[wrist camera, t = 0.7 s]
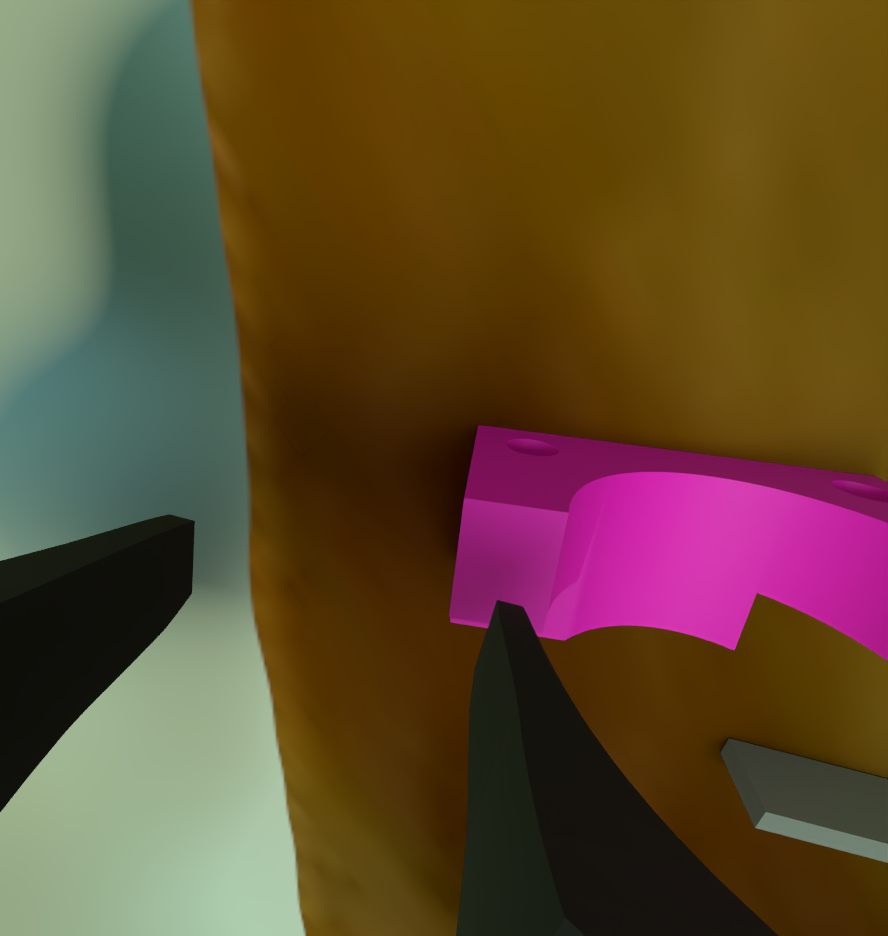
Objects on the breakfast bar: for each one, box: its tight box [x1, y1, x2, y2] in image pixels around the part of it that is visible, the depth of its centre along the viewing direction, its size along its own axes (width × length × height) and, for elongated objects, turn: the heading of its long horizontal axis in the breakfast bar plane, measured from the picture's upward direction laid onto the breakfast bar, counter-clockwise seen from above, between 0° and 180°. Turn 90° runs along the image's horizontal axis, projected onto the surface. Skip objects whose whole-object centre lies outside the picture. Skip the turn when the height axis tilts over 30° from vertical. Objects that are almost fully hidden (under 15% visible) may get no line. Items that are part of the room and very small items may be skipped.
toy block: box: [449, 425, 888, 661], centre depth 17 cm, size 15×6×8 cm, turn 84°
